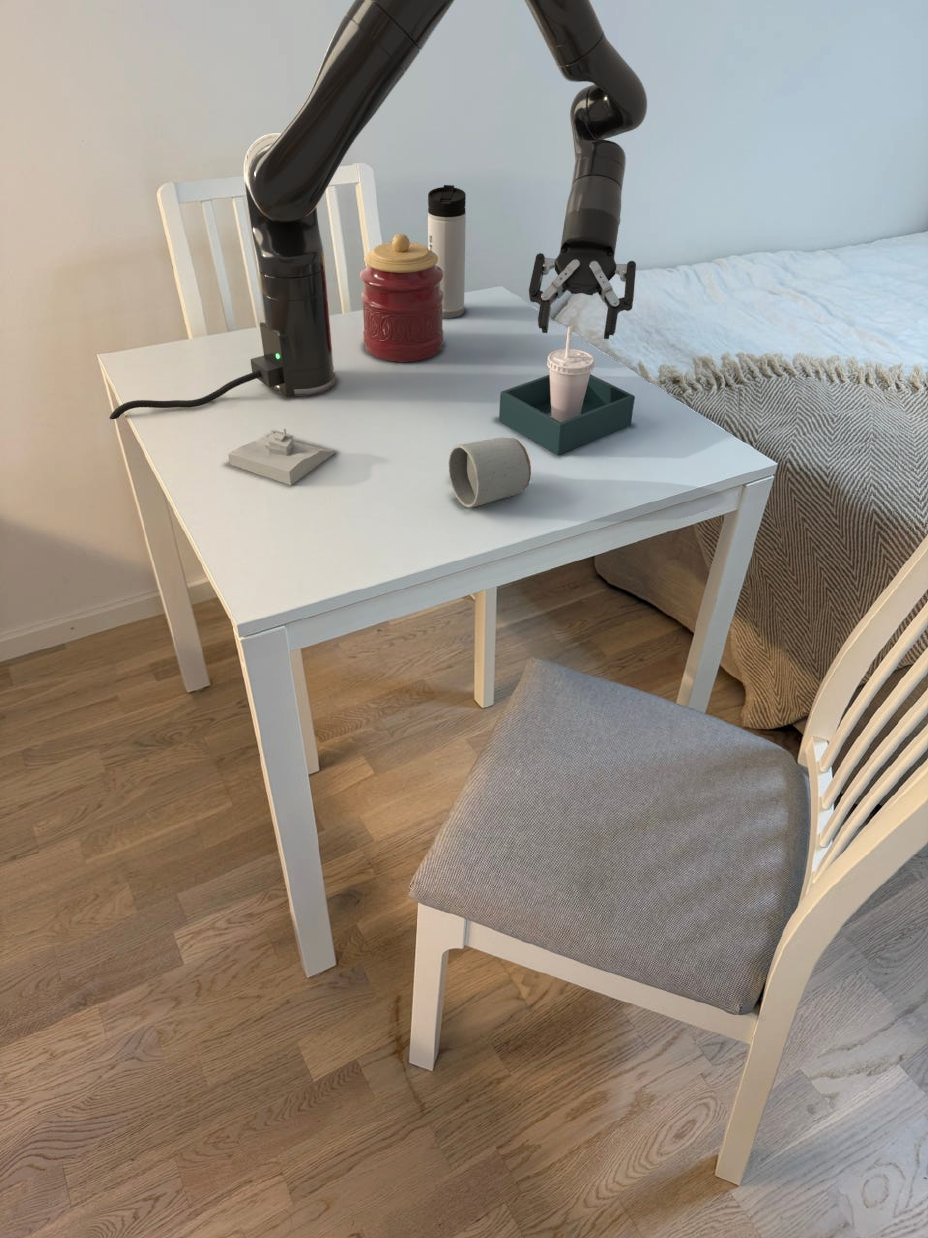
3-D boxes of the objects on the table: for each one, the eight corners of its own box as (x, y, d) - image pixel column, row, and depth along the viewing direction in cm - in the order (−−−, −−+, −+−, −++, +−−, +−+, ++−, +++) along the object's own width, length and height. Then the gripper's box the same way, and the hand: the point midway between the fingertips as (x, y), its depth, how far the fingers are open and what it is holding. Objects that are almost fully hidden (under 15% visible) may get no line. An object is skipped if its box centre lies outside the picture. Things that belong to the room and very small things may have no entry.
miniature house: (339, 445, 119) (337, 420, 117) (308, 487, 111) (305, 461, 109) (257, 433, 122) (253, 408, 119) (221, 474, 113) (216, 448, 111)
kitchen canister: (409, 324, 152) (406, 216, 140) (459, 348, 144) (461, 235, 133) (348, 344, 145) (340, 232, 133) (398, 370, 138) (394, 254, 126)
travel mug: (465, 305, 159) (468, 185, 146) (462, 319, 154) (464, 196, 141) (431, 303, 159) (430, 183, 146) (426, 317, 154) (425, 194, 141)
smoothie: (539, 413, 128) (546, 317, 119) (582, 412, 128) (593, 316, 119) (545, 434, 123) (554, 336, 114) (591, 433, 123) (603, 335, 114)
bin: (557, 455, 118) (560, 425, 115) (498, 420, 126) (500, 391, 123) (630, 425, 125) (635, 395, 122) (571, 394, 132) (573, 365, 130)
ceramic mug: (533, 501, 109) (537, 446, 104) (476, 519, 106) (477, 462, 101) (489, 464, 116) (491, 410, 112) (434, 479, 113) (434, 425, 108)
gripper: (539, 202, 119) (522, 317, 118) (645, 209, 117) (629, 327, 116) (541, 231, 127) (525, 340, 125) (641, 239, 125) (626, 349, 123)
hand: (575, 333), depth 121 cm, fingers open, 8 cm apart
